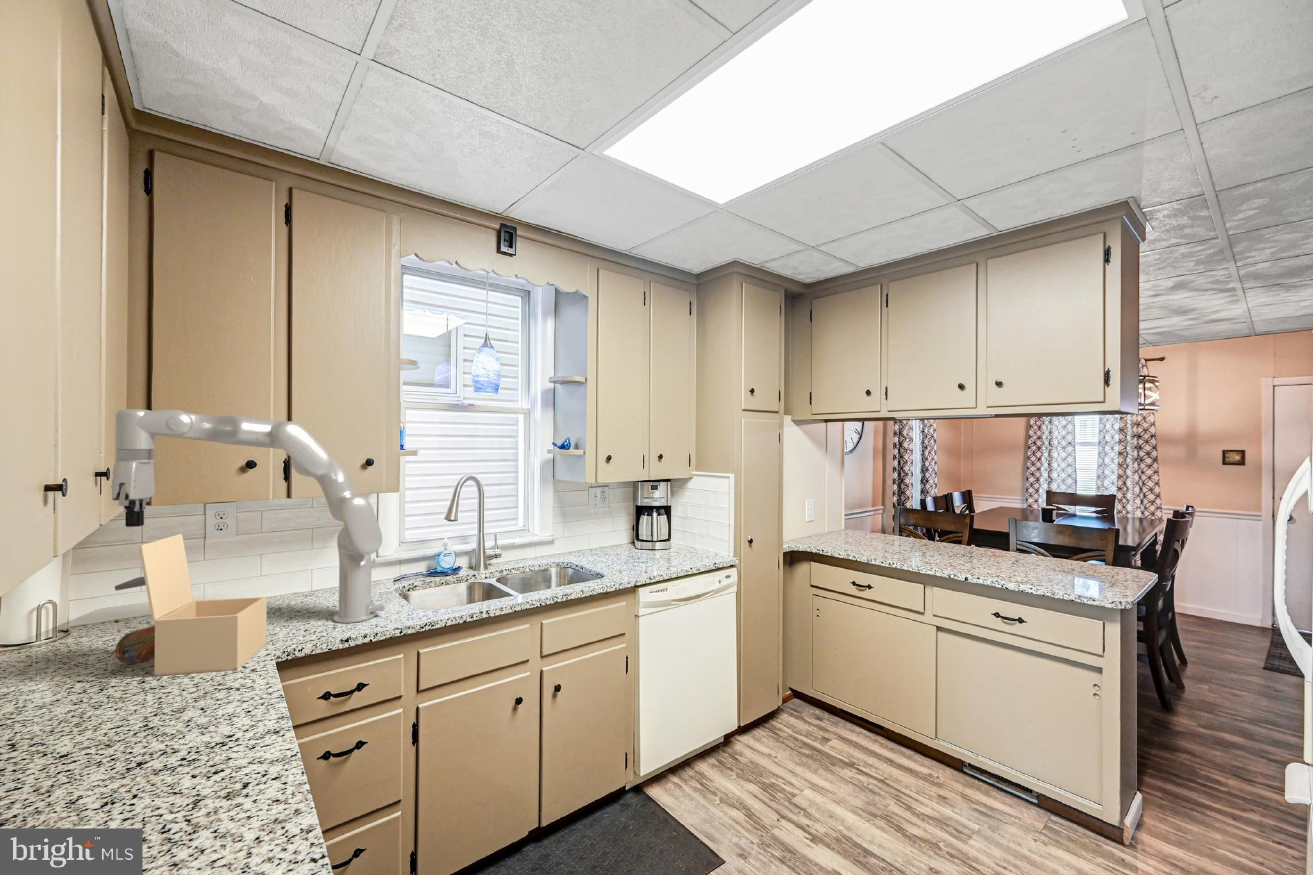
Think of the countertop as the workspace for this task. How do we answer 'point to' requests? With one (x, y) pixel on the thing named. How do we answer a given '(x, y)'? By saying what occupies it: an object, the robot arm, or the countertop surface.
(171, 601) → the lid
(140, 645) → the tin
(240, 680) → the countertop surface
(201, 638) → the carton
